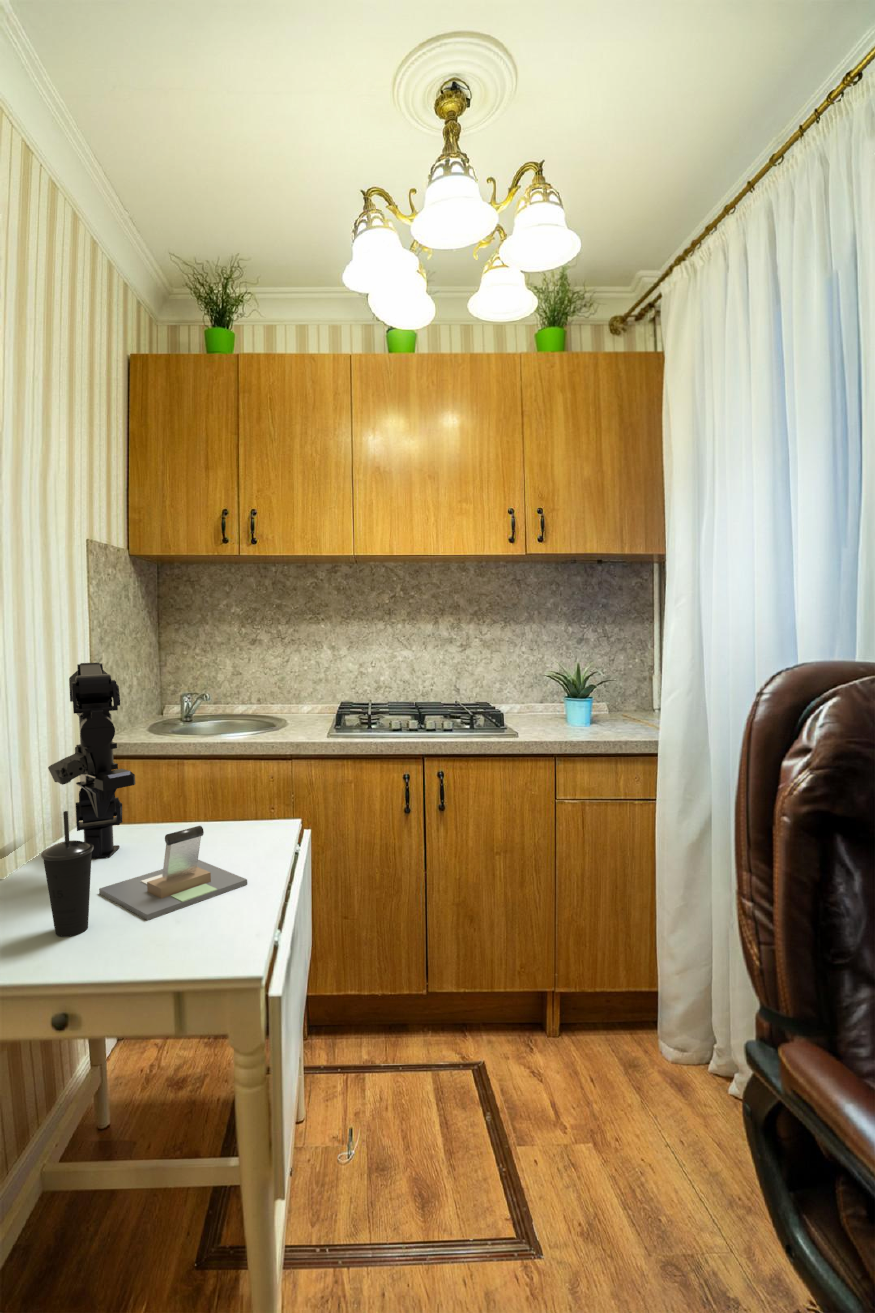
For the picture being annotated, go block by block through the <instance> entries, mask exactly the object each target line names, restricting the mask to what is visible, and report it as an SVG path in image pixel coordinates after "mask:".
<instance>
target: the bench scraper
mask: <svg viewBox="0 0 875 1313" xmlns="http://www.w3.org/2000/svg"><path fill="white" fill-rule="evenodd" d="M204 833H205V832H204V827H203V826H202V825H197V826H194V827H189V828H186V829H182V830H178V831H175V832H170V833H168V834H165V836H164V841H165V849H164V850H165V852H164V859H163V865H162V866H163V868H162V869H163V875H162V877H163V878H164V879H165V880H166V881H167V880H171V879H174V878H177V877H180V876H183V875H186V874H189V873H192V872H195V871H197V863H198V860H199V855H200V848H201V841H202V837H203V836H204Z"/></svg>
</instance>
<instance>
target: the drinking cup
mask: <svg viewBox="0 0 875 1313" xmlns="http://www.w3.org/2000/svg"><path fill="white" fill-rule="evenodd" d="M62 815H63V830H64V831H63V833H64V841H61V842H58V843H55V844H53V845H51V846H49V847H47V848H45V849H43V850H42V851H41V853H40V857H41V859H43V865H44V872H45V878H46V884H47V890H48V896H49V897H48V898H49V902H50V908H51V914H52V919H53V920H52V921H53V926H54V933H55V935H56V936H57V937H63V938H66V937H67V938H68V937H74V936H77V935H80V934H83V933H85V931H87V930H88V928H89V916H90V912H89V911H90V894H91V893H90V892H91V891H90V890H91V875H92V873H91V872H92V870H91V869H92V858H91V855H92V851H93V848H94V847H93V845H92V844H91V843H87V842H84V841H81V840H75V839H73V840H72V839H71V840H70V825H69V811H68V810H64V811H63V813H62Z"/></svg>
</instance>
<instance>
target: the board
mask: <svg viewBox="0 0 875 1313" xmlns="http://www.w3.org/2000/svg"><path fill="white" fill-rule="evenodd" d="M162 875H163V868H162V869H158V870H155V871H152V872H149V873H146V874H142V875H139V876H135V877H132V878H129V879H125V880H122V881H119V882H116V883H113V884H110V885H105V886H103V887H99V889H98V893H99V895H101V896H102V897H104V898H106V899H108V900H110V901H112V902H113V903H116V904H117V905H119V906H121V907H123V908H124V909H125V910H128V911H129V912H132V913H133V914H135V915H137V916H139V917H140V918H142V919H144V920H145V921H150V920H151V919H155V918H158V917H161V916H163V915H166V914H169V913H171V912H175V911H177V910H180V909H183V908H186V907H188V906H191V905H194V904H197V903H199V902H202V901H206V900H208V899H210V898H214V897H217V896H220V895H222V894H224V893H228V892H230V891H233V890H236V889H239V888H241V887H244V886H247V885H248V878H245V877H243V876H239V875H237V874H235V873H232V872H230V871H228V870H225V869H222V868H220V867H218V866H215V865H213V864H210V863H208V862H206V861H203V860H201V859H198V863H197V871H195V872H192V873H189V874H186V875H183V876H180V877H177V878H174V879H171V880H167V881H166V880H165V879H164V878H163V877H162Z"/></svg>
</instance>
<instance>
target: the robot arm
mask: <svg viewBox="0 0 875 1313" xmlns="http://www.w3.org/2000/svg"><path fill="white" fill-rule="evenodd" d="M76 666H77V667H76V668H77V670H76V671H75V672H74V673H73V674H72V675H71V676H70V677H69V679H68V682H69V683H68V685H69V686H68V687H69V702H70V703H72V707H73V708H72V710H73V714H76V715H77V716H78V723H79V727H78V728H79V740H80V741H79V742H80V743H79V744H76V745H75V747H74V753H73V754H71V755H69V756H67V757H64V758H62V759H60V760H58V761H56V762H55V763H52V764H50V765H49V766H48V767H47V769H48V771H49V773H50V775H51V778H52V779H53V781H54V783H59V784H60V785H67V784H69V783H71V781H72V780H74V779H77V778H78V777H79V781H78V782H76V783H75V784H76V785H77V786H79V788H80V789H79V791H78V801H77V802H75V819H76V820H75V823H76V831H77V832H80V831H83V842H87V843H91V844H92V845H93V847H94V848H93V851H92V855H91V859H95V858H97V859H98V858H110V857H111V856H113V854H115V852H117V851H118V850H119V849H120V847H121V846H120V845H118V844H117V845H114V828H113V827H114V826H120V824H122V823H123V802H121V801H120V799H119V797H118V796H116V792H117V789H121V788H127V787H131V786H132V787H133V786H135V785H136V775H135V773H133V772H132V771H131V770H128V769H125V768H119V763H116V762H114V749H118V743H117V742H113V741H114V740H113V739H114V737H115V735H116V728H115V725H114V723H113V721H112V714H111V713H110V712H114V711H118V710H119V709H118V707H119V706H121V696H120V688H119V684H118V683H117V681H116V679H112V675H111V674H109V673H107V672H106V671H105V670H104V667H103V666H104V665H103V663H101V662H98V661H97V662H80V663H79V664H77V665H76Z"/></svg>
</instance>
